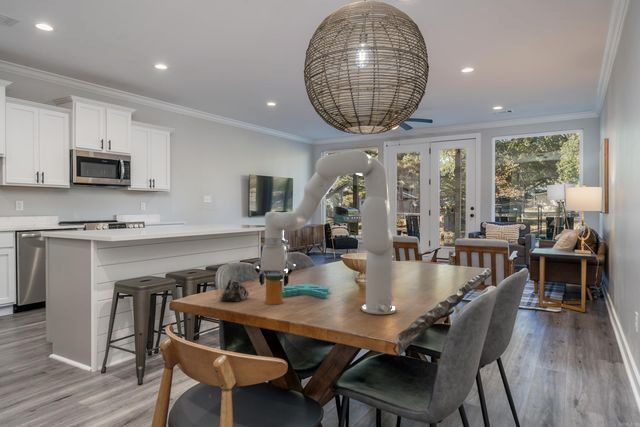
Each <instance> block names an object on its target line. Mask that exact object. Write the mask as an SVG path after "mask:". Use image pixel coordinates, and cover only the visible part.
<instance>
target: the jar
mask: <svg viewBox="0 0 640 427" xmlns="http://www.w3.org/2000/svg"><path fill="white" fill-rule="evenodd" d="M282 291H283V279H281V280H267V279H265V304H268V305H281V304H282V303H283V297H282Z"/></svg>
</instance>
